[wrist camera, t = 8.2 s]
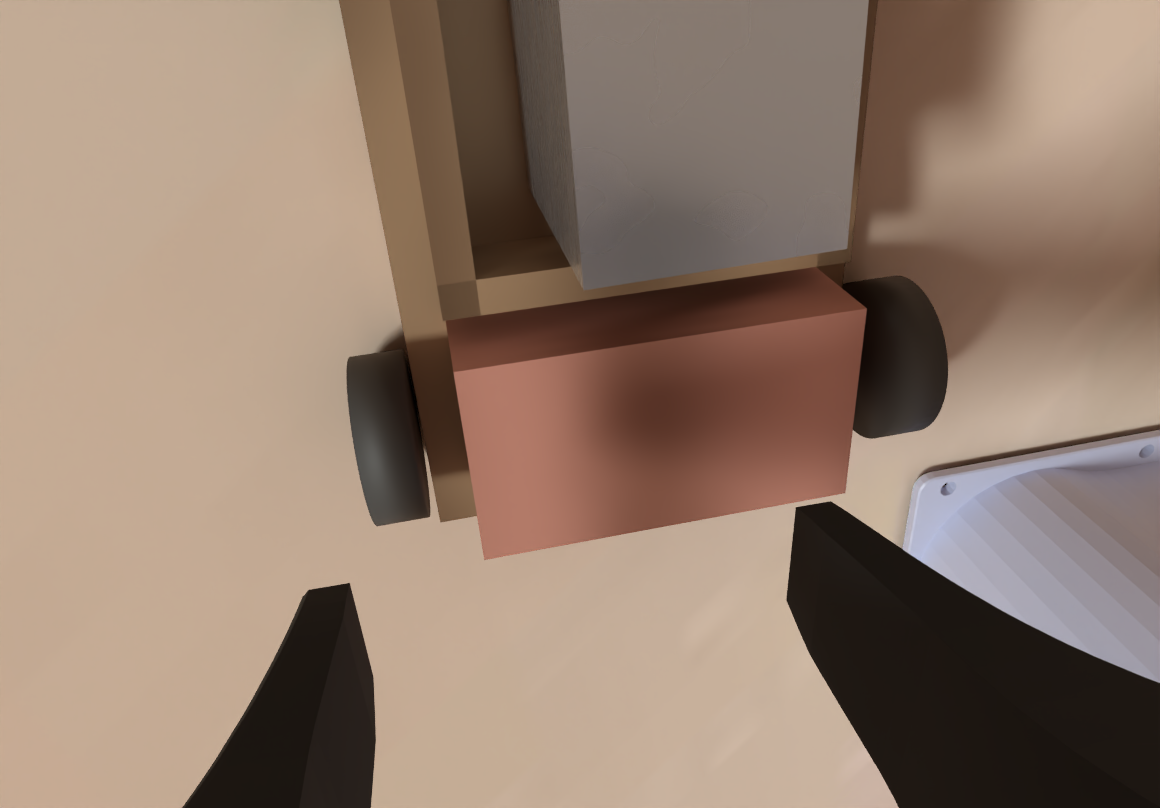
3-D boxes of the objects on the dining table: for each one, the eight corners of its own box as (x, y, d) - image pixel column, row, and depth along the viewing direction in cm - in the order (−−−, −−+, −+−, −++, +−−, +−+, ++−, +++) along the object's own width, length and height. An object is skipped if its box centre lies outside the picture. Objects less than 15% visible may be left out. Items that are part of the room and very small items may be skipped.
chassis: (963, -528, 15) (1136, -659, 11) (851, 428, 25) (924, 508, 22) (153, -522, 13) (72, -678, 10) (391, 508, 23) (392, 609, 20)
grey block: (725, -157, 16) (885, -189, 11) (723, 160, 19) (847, 248, 14) (491, -136, 15) (545, -160, 10) (528, 186, 19) (583, 290, 13)
